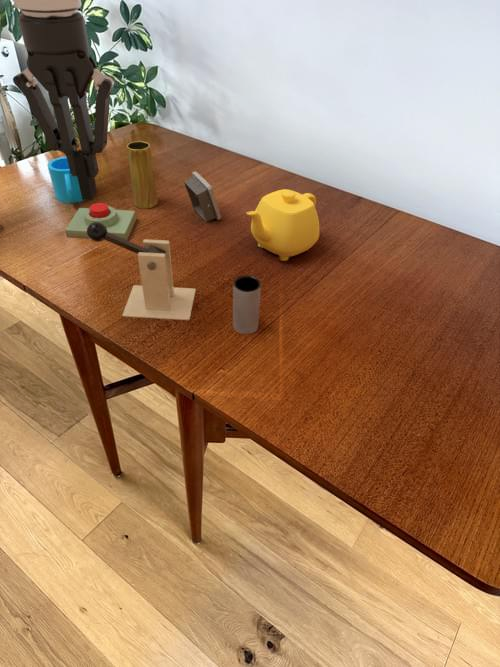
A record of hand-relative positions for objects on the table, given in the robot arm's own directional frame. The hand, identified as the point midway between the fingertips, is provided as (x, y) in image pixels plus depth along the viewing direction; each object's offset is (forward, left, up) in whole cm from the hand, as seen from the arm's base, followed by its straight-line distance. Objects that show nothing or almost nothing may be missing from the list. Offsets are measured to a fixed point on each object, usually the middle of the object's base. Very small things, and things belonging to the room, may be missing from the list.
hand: (89, 195), depth 71 cm
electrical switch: (+13, +35, -22) cm, 43 cm away
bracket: (+9, 0, -22) cm, 23 cm away
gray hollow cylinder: (+25, -5, -22) cm, 34 cm away
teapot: (+31, +22, -22) cm, 44 cm away
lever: (+4, 0, -10) cm, 11 cm away
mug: (-20, +39, -22) cm, 49 cm away
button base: (-9, +26, -22) cm, 35 cm away
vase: (-2, +39, -22) cm, 45 cm away
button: (-9, +26, -18) cm, 33 cm away
